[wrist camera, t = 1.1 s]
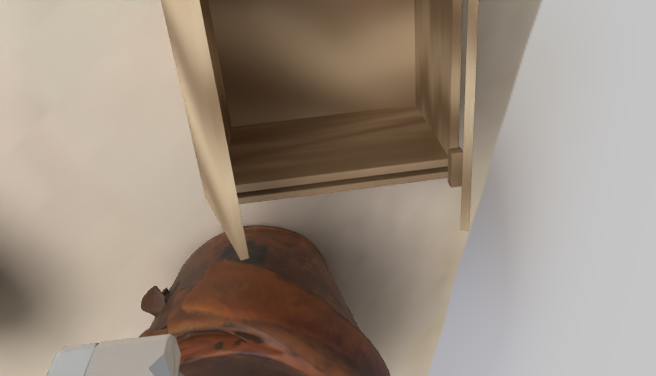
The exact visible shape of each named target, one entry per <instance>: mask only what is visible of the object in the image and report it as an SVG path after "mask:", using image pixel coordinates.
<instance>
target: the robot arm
mask: <svg viewBox="0 0 656 376" xmlns="http://www.w3.org/2000/svg"><path fill="white" fill-rule="evenodd" d="M180 358H181V353H180V350H179V347H178V344H177V341H176V337H174V336H173V335H172V334H166V335H157V336H148V337H140V338H131V339H122V340H114V341H105V342H100V343H93V344H84V345H76V346H67V347H64V348H63V349H61V350H60V351H59V352H58V353H57V354H56V355H55V358H54V360H53V362H52V364H51V367H50V369H49V371H48V374H47V376H185V375H183V374H182V373H181V372H179V364H180Z"/></svg>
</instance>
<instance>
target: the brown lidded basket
mask: <svg viewBox="0 0 656 376" xmlns="http://www.w3.org/2000/svg"><path fill="white" fill-rule="evenodd" d="M243 229H244V234H245V239H246V244H247V250H248V255H249V258H248V259H245V260H242V261H241V260H240V258H239V256H238V254H237V253H236V251H235V249H234V247H233V246H232V244H231V242H230V240H229V238H228V237H227V235H226V233H223V234H221V235H218V236H216V237H215V238H213V239H211V240H210V241H208V242H207V243H205V244H204V245H203V246H201V247H200V248H199V249H198V250H197V251H195V252H194V253H193V254H192V255H191V256H190V258H189V259H188V260H187V261H186V263H185V264H184V265H183V267H182V268H181V270H180V272H179V274H178V276H177V278H176V280H175V281H174V283H173V285H172V287H171V288H170V290H169V291H168V289H167V288H166V289H164V290H163V291H162V292H161V291H160V290H159V288H158V287H157V286H154V287H153V288H151V289H150V290H149V291H148V292H147V293H146V295H144V297H143V299H142V302H141V309H142V310H143V311H145V312H148V313H150V314H152V315H154V316H155V319H154V321H153V323H152V325H151V327H150V328H149V329H148V330H146V331H145V332H144V333H142V334H141V335H140V336H139V337H138V338H140V337H148V336H157V335H166V334H172V335H173V336H174V337H176V341H177V344H178V347H179V350H180V353H181V358H180V364H179V372H181V373H182V374H183V375H185V376H390V373H389V370H388V368H387V366H386V364H385V362H384V360H383V359H382V358H381V356H380V354H379V352H378V351H377V349H376V348H375V347H374V346H373V344H372V343H371V341H370V340H369V339H368V338H367V337H366V336H365V335H364V334H363V333H362V332H361V331H360V329H359V327H358V325H357V323H356V322H355V320H354V318H353V316H352V314H351V312H350V310H349V308H348V306H347V304H346V302H345V300H344V298H343V297H342V295H341V293H340V291H339V289H338V287H337V285H336V283H335V282H334V280H333V278H332V276H331V274H330V273H329V271H328V268H327V265H326V263H325V260H324V258H323V257H322V255H321V253H320V252H319V251H318V249H317V248H316V247H315V246H314V245H313V244H312V243H310V242H309V241H308V240H307V239H305V238H304V237H302V236H300V235H298V234H296V233H294V232H291V231H287V230H283V229H278V228H272V227H261V226H250V227H243Z"/></svg>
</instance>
